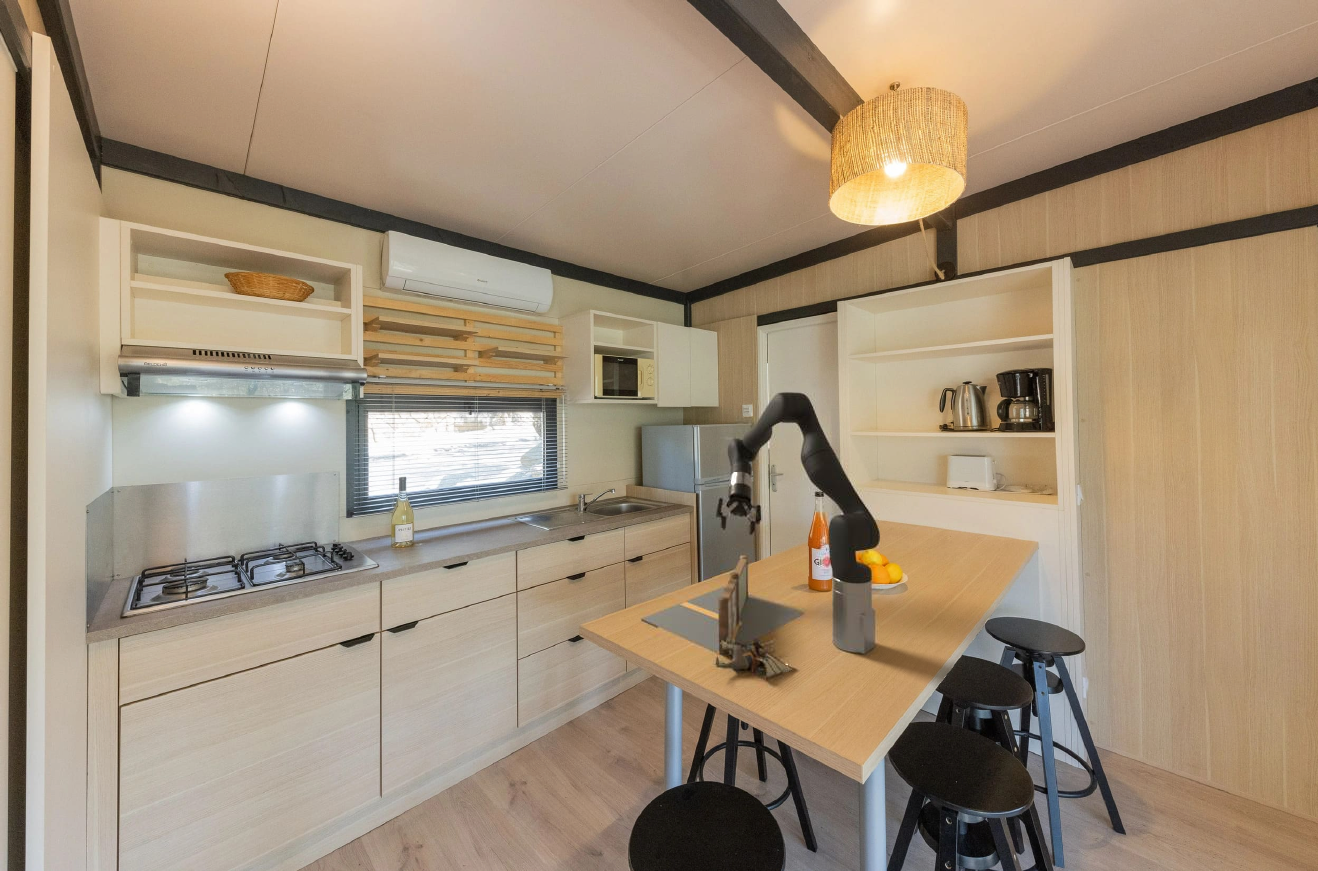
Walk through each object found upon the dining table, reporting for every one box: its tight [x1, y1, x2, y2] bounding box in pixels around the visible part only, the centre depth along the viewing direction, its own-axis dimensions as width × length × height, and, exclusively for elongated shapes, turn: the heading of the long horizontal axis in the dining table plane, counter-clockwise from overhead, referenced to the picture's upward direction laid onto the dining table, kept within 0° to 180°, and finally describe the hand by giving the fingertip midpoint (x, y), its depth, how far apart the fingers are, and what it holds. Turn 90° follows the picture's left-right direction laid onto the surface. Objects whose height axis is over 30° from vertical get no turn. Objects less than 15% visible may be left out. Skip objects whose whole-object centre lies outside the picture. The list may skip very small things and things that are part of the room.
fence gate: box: [732, 554, 749, 617], centre depth 145 cm, size 20×2×13 cm, turn 162°
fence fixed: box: [718, 572, 739, 656], centre depth 126 cm, size 20×2×14 cm, turn 162°
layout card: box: [640, 586, 806, 657], centre depth 140 cm, size 31×37×1 cm
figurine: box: [714, 636, 798, 681], centre depth 111 cm, size 20×6×17 cm
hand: (737, 531), depth 152 cm, fingers open, 8 cm apart
